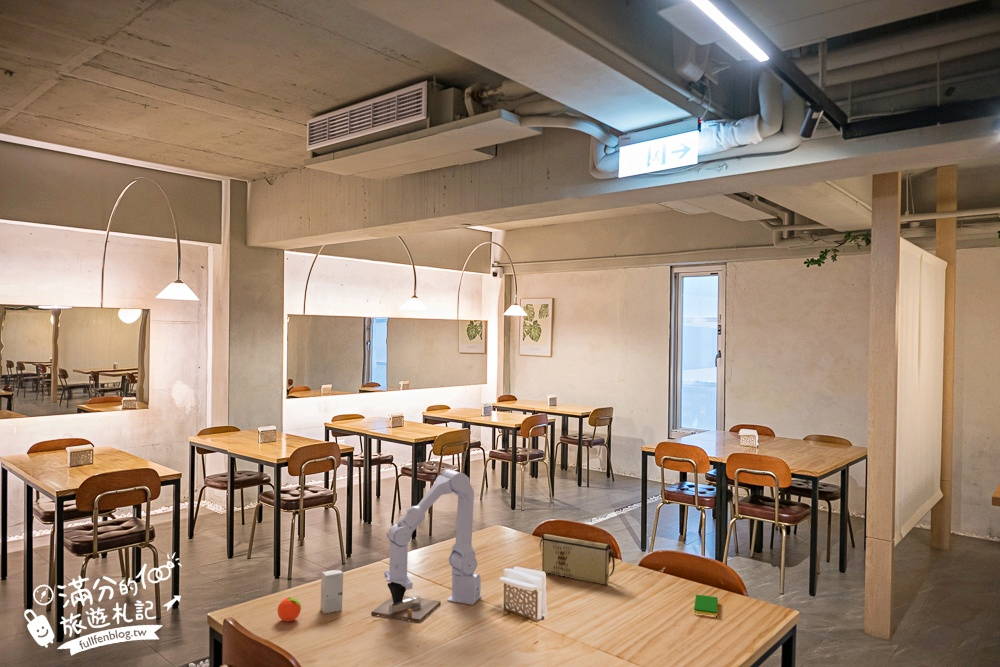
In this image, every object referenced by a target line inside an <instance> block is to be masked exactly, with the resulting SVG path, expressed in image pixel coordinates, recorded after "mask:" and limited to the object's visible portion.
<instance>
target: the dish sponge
mask: <svg viewBox="0 0 1000 667" xmlns="http://www.w3.org/2000/svg"><path fill="white" fill-rule="evenodd" d="M694 599H695V600H694V607H693V608H694V609H693V614H694V613H697V614H705V615H714V616H717V617H718V607H717V605H718V601H719V600H718V599H719V598H718V597H717V596H710V595H701V594H695V598H694Z"/></svg>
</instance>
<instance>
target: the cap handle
mask: <svg viewBox="0 0 1000 667" xmlns="http://www.w3.org/2000/svg"><path fill="white" fill-rule="evenodd" d="M421 598H422V597H421V596H420V595H411V596H410V598H409V599H406V600H403V601H400V602H397V603H394V604H391V605H389V613H390V614H393V613H396V612H399V611H402V610H405V609H408V608H411V607H419V606H420V605H421Z"/></svg>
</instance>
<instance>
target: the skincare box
mask: <svg viewBox="0 0 1000 667" xmlns="http://www.w3.org/2000/svg"><path fill="white" fill-rule="evenodd" d="M320 580H321V582H320V583H321V585H320V586H321V587H320V607H319V608H320V610H322V611H323V612H324V613H325V614H330V613H335V611H336V612H341V611H342V610H343V591H344V588H343V587H344V572H343V571H342V570H340V569H334V570H333V569H332V570H327V571H321V578H320ZM322 611H321V612H322ZM323 612H322V613H323ZM324 613H323V614H324Z"/></svg>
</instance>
